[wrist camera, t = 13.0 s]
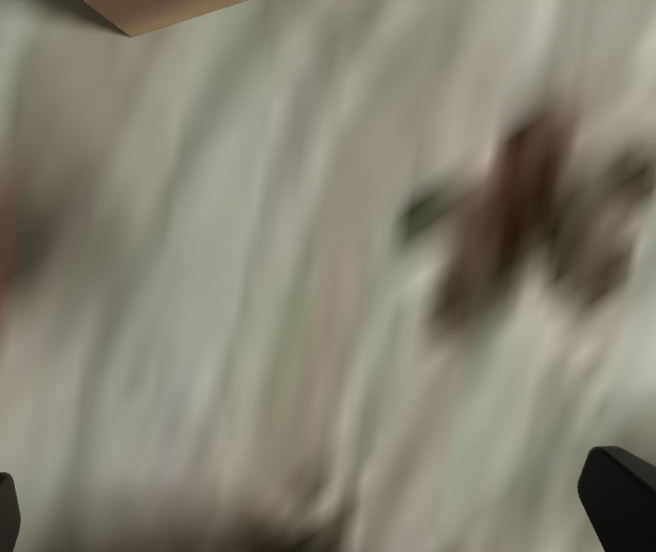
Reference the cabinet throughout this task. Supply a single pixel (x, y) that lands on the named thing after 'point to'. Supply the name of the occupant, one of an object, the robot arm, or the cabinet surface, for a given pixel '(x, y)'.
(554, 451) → the cabinet surface
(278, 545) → the cabinet surface
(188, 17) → the walnut block
